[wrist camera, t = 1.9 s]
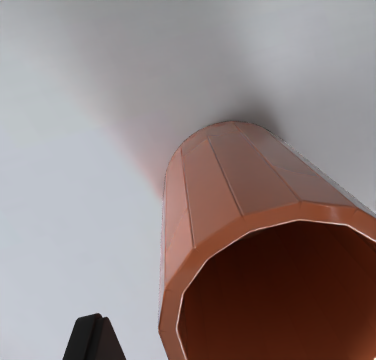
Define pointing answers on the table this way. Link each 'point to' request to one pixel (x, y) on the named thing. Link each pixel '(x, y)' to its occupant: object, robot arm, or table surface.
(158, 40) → the table surface
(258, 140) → the tea mug
